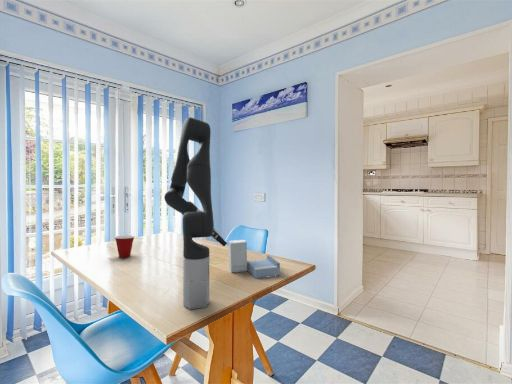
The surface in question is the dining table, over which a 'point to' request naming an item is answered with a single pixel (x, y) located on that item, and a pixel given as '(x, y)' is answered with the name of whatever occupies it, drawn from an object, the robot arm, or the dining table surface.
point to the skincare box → (238, 255)
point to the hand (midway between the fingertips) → (223, 242)
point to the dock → (264, 267)
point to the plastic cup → (124, 245)
